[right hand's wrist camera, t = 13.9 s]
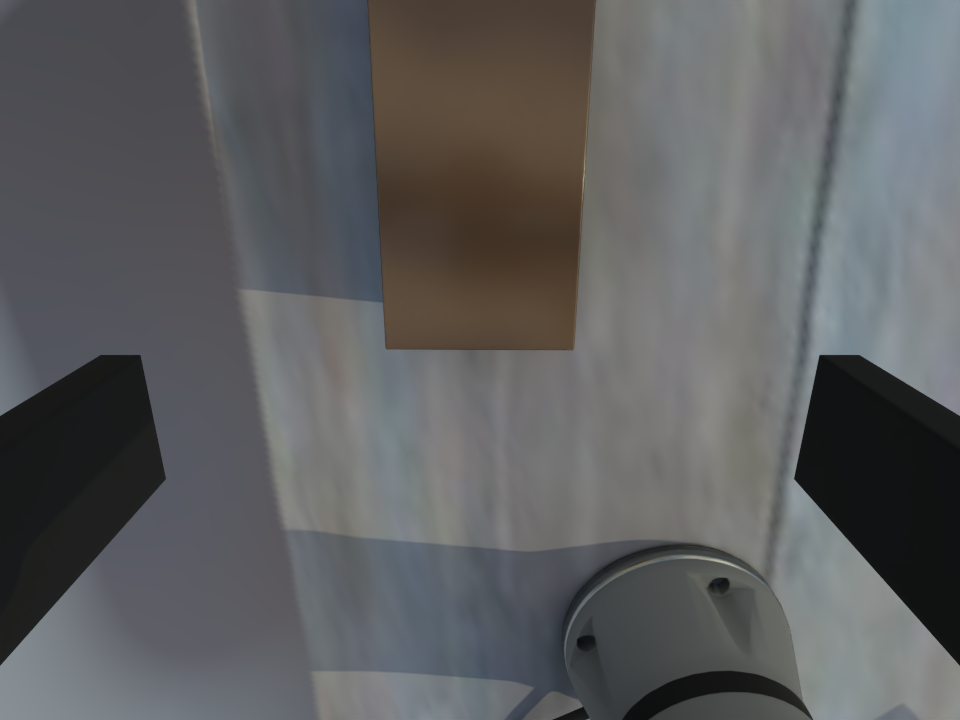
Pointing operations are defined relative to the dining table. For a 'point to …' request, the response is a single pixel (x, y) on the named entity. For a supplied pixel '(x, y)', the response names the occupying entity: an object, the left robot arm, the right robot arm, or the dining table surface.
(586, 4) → the thick board
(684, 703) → the right robot arm
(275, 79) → the dining table surface
